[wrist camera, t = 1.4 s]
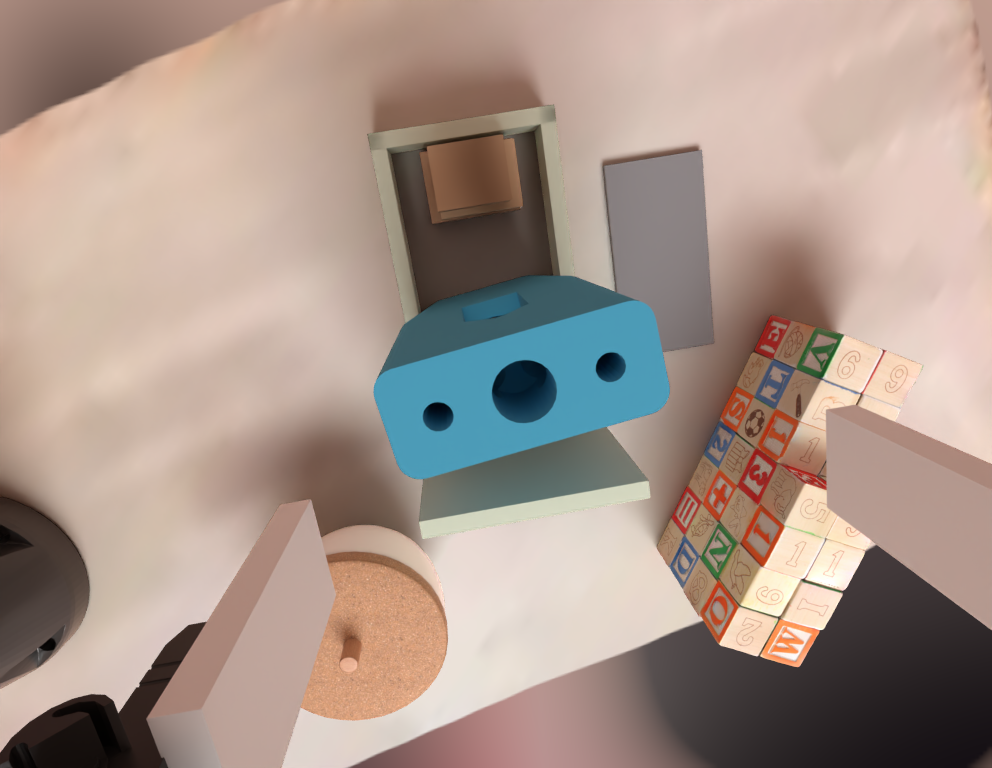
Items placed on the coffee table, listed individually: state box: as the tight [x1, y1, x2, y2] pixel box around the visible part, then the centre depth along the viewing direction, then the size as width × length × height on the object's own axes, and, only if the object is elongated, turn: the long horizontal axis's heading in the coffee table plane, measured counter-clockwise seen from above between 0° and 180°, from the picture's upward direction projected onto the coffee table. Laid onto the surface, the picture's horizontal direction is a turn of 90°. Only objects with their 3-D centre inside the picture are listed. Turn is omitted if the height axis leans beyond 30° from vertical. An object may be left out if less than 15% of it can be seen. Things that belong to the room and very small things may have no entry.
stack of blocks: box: [657, 315, 923, 667], centre depth 42 cm, size 21×6×12 cm, turn 159°
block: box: [374, 275, 670, 479], centre depth 34 cm, size 12×5×20 cm, turn 105°
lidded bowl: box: [301, 525, 448, 720], centre depth 43 cm, size 13×13×11 cm
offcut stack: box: [420, 134, 523, 224], centre depth 38 cm, size 6×4×8 cm
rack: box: [368, 105, 650, 539], centre depth 36 cm, size 12×22×16 cm, turn 9°
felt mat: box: [603, 150, 714, 352], centre depth 44 cm, size 7×14×1 cm, turn 9°
